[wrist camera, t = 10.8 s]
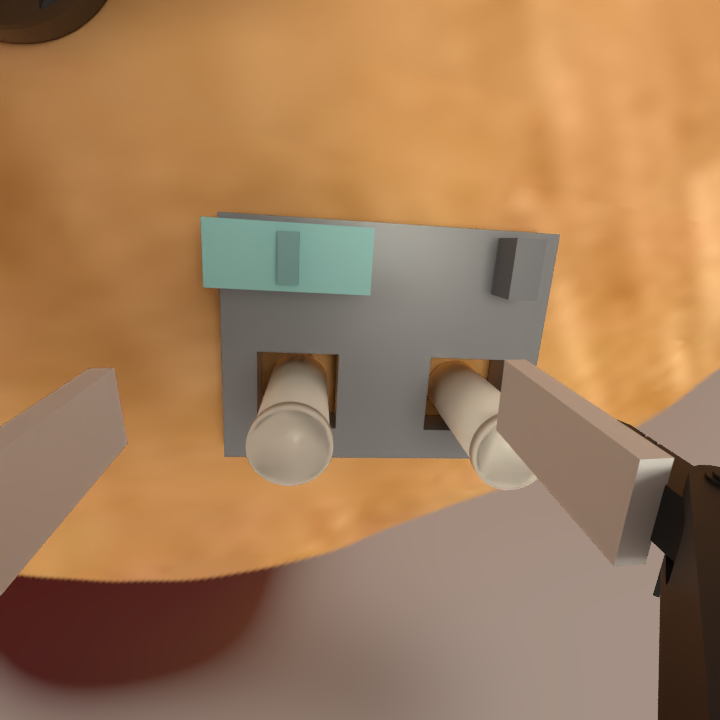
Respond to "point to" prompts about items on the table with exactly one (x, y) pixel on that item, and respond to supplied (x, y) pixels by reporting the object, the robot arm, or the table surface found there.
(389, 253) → the housing
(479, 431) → the cream peg
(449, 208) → the table surface
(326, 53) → the table surface
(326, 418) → the white cylinder
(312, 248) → the lid
